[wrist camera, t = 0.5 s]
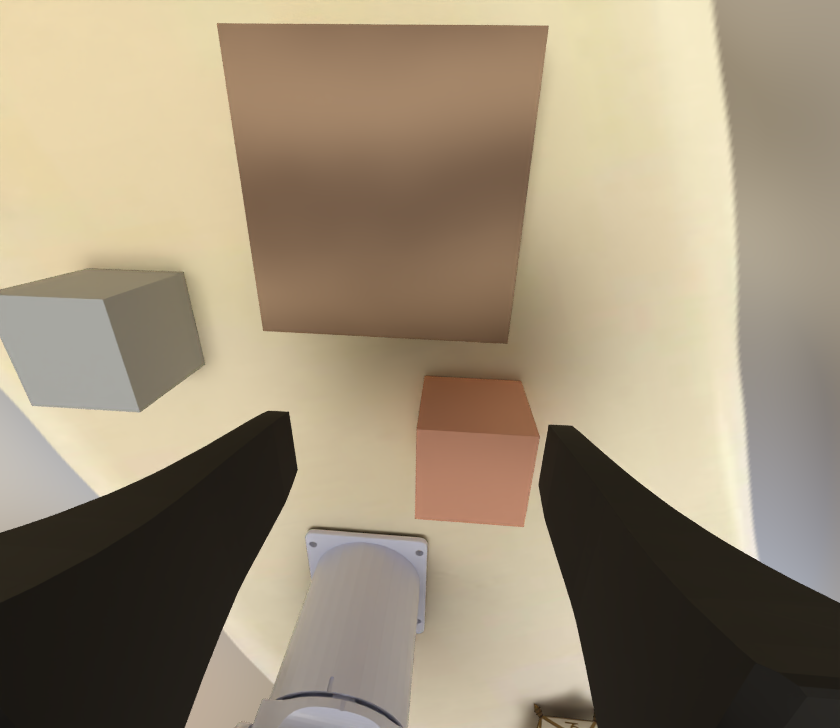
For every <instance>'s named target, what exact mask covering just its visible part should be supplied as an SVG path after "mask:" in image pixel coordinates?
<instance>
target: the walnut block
mask: <svg viewBox="0 0 840 728" xmlns="http://www.w3.org/2000/svg"><path fill="white" fill-rule="evenodd" d="M217 27H218V34H219V41H220V47H221V54H222V61H223V67H224V74H225V80H226V87H227V94H228V100H229V107H230V114H231V120H232V127H233V133H234V140H235V147H236V153H237V160H238V167H239V173H240V180H241V187H242V193H243V200H244V206H245V213H246V220H247V226H248V233H249V240H250V246H251V253H252V259H253V266H254V273H255V279H256V286H257V293H258V299H259V306H260V313H261V319H262V326H263V331H276V332H295V333H314V334H333V335H352V336H370V337H389V338H408V339H427V340H446V341H465V342H484V343H503V344H507V342H508V334H509V327H510V319H511V311H512V304H513V296H514V288H515V281H516V273H517V265H518V258H519V250H520V242H521V235H522V227H523V219H524V211H525V204H526V196H527V188H528V181H529V173H530V165H531V158H532V150H533V142H534V135H535V127H536V119H537V112H538V104H539V96H540V89H541V81H542V73H543V65H544V58H545V50H546V42H547V35H548V27H549V26H513V25H370V24H227V23H217Z"/></svg>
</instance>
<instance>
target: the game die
mask: <svg viewBox="0 0 840 728" xmlns="http://www.w3.org/2000/svg"><path fill="white" fill-rule="evenodd" d="M534 708H535V711H534V712H536V715H538V716H539V718H540V719H539V722H538V726H537V728H598V727H597V721H596V716H595V713H594V716H593V721H590V720H581V719H571V718H562V717H552V716H543V715H542V710H541V709H540V707H538V706H537V705H536V704H534Z"/></svg>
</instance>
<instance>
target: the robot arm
mask: <svg viewBox="0 0 840 728" xmlns="http://www.w3.org/2000/svg"><path fill="white" fill-rule="evenodd" d="M297 470H298V469H297V462H296V456H295V449H294V442H293V436H292V429H291V423H290V416H289V412H281V411H267V412H265V413H262V414H260V415H258V416H257V417H255V418H253V419H251V420H249V421H248V422H246V423H244V424H243V425H241V426H239V427H237V428H236V429H234V430H232V431H231V432H229V433H227V434H225V435H224V436H222V437H220V438H219V439H217V440H215V441H213V442H212V443H210V444H208V445H207V446H205V447H203V448H201V449H199V450H198V451H196V452H194V453H192V454H190V455H188V456H186V457H184V458H183V459H181V460H179V461H177V462H175V463H173V464H171V465H170V466H168V467H166V468H164V469H162V470H160V471H158V472H156V473H154V474H152V475H150V476H148V477H145V478H143V479H141V480H139V481H137V482H135V483H132V484H130V485H128V486H126V487H123V488H121V489H119V490H117V491H114V492H112V493H110V494H107V495H105V496H102V497H99V498H97V499H95V500H92V501H89V502H87V503H84V504H81V505H79V506H76V507H74V508H71V509H68V510H66V511H63V512H61V513H58V514H55V515H53V516H50V517H47V518H44V519H41V520H38V521H35V522H32V523H29V524H26V525H23V526H20V527H17V528H14V529H11V530H8V531H5V532H1V533H0V728H185V725H186V722H187V720H188V717H189V714H190V711H191V709H192V706H193V704H194V701H195V698H196V695H197V693H198V690H199V687H200V684H201V682H202V679H203V676H204V674H205V671H206V669H207V666H208V664H209V661H210V658H211V656H212V654H213V651H214V649H215V646H216V644H217V641H218V639H219V636H220V633H221V631H222V629H223V626H224V624H225V622H226V619H227V617H228V615H229V612H230V610H231V607H232V605H233V603H234V600H235V598H236V596H237V593H238V591H239V589H240V587H241V585H242V583H243V581H244V579H245V577H246V575H247V573H248V571H249V570H250V568H251V566H252V564H253V562H254V560H255V558H256V557H257V555H258V553H259V551H260V549H261V547H262V546H263V544H264V542H265V540H266V538H267V536H268V534H269V533H270V531H271V529H272V527H273V525H274V523H275V521H276V520H277V518H278V516H279V514H280V512H281V510H282V508H283V506H284V504H285V502H286V500H287V497H288V495H289V492H290V490H291V487H292V484H293V482H294V479H295V476H296V473H297ZM539 490H540V496H541V502H542V507H543V513H544V518H545V521H546V525H547V528H548V531H549V535H550V538H551V541H552V544H553V548H554V551H555V554H556V557H557V560H558V563H559V566H560V570H561V573H562V576H563V579H564V582H565V585H566V588H567V592H568V595H569V598H570V601H571V605H572V608H573V612H574V616H575V619H576V624H577V628H578V633H579V638H580V642H581V647H582V651H583V656H584V661H585V665H586V670H587V676H588V681H589V686H590V691H591V696H592V701H593V706H594V711H595V716H596V721H597V727H598V728H840V603H839V602H837V601H835V600H832V599H831V598H828V597H827V596H825V595H823V594H820V593H819V592H816V591H815V590H813V589H811V588H809V587H806V586H805V585H803V584H800V583H798V582H797V581H795V580H792V579H791V578H789V577H787V576H785V575H783V574H781V573H779V572H778V571H776V570H774V569H772V568H770V567H768V566H766V565H765V564H763V563H761V562H759V561H758V560H756V559H754V558H752V557H751V556H749V555H747V554H745V553H744V552H742V551H740V550H738V549H737V548H735V547H733V546H731V545H730V544H728V543H726V542H725V541H723V540H721V539H720V538H718V537H717V536H715V535H713V534H712V533H710V532H708V531H707V530H705V529H704V528H702V527H701V526H699V525H698V524H696V523H695V522H693V521H692V520H690V519H689V518H687V517H686V516H684V515H683V514H681V513H680V512H678V511H677V510H675V509H674V508H672V507H671V506H670V505H668V504H667V503H665V502H664V501H663V500H661V499H660V498H659V497H657V496H656V495H655V494H653V493H652V492H651V491H649V490H648V489H647V488H646V487H644V486H643V485H642V484H640V483H639V482H638V481H637V480H635V479H634V478H633V477H632V476H630V475H629V474H628V473H627V472H625V471H624V470H623V469H622V468H621V467H619V466H618V465H617V464H616V463H615V462H614V461H612V460H611V459H610V458H609V457H608V456H607V455H605V454H604V453H603V452H602V451H601V450H600V449H599V448H597V447H596V446H595V445H594V444H593V443H592V442H591V441H589V440H588V439H587V438H586V437H585V436H584V435H583V434H581V433H580V432H579V431H578V430H577V429H575V428H574V427H573V426H566V425H549V426H548V432H547V438H546V444H545V450H544V455H543V461H542V467H541V473H540V479H539ZM305 540H306V547H307V554H308V560H309V567H310V574H311V583H310V586H309V589H308V592H307V594H306V597H305V600H304V603H303V606H302V608H301V611H300V614H299V617H298V620H297V622H296V625H295V628H294V631H293V634H292V636H291V639H290V642H289V645H288V648H287V650H286V653H285V656H284V659H283V662H282V664H281V667H280V670H279V673H278V676H277V678H276V681H275V684H274V687H273V690H272V693H271V695H270V698H269V699H266V698H265V699H262V701H261V704H260V707H259V709H258V712H257V715H256V717H255V720H254V723H253V724H251V723H248V722H245V721H241V722H239V723H238V724H237V725H236V726H235V727H234V728H408V720H409V708H410V696H411V684H412V673H413V661H414V649H415V637H416V634H420V633H422V632H423V631H424V626H425V601H426V574H427V548H428V543H427V541H426V540H425V539H424V538H420V537H407V536H395V535H382V534H369V533H356V532H344V531H331V530H318V529H310V530H308V531H307V533H306V536H305ZM419 550H421V551H419Z"/></svg>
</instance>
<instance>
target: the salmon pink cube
mask: <svg viewBox="0 0 840 728" xmlns="http://www.w3.org/2000/svg"><path fill="white" fill-rule="evenodd" d="M539 438H540V436H539V433H538V430H537V427H536V424H535V421H534V418H533V415H532V412H531V409H530V406H529V403H528V400H527V397H526V394H525V391H524V388H523V385H522V382H521V381H513V380H494V379H475V378H456V377H437V376H425V377H424V384H423V391H422V397H421V404H420V411H419V417H418V424H417V441H416V496H415V519H424V520H438V521H451V522H465V523H478V524H491V525H505V526H518V527H524V522H525V517H526V511H527V505H528V500H529V494H530V489H531V483H532V477H533V472H534V466H535V460H536V455H537V449H538V444H539Z"/></svg>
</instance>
